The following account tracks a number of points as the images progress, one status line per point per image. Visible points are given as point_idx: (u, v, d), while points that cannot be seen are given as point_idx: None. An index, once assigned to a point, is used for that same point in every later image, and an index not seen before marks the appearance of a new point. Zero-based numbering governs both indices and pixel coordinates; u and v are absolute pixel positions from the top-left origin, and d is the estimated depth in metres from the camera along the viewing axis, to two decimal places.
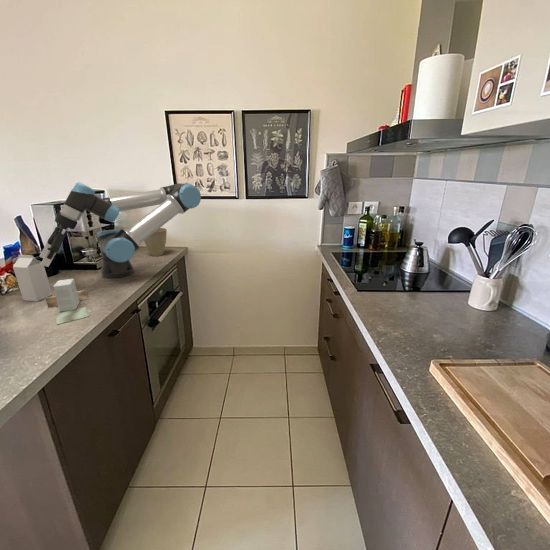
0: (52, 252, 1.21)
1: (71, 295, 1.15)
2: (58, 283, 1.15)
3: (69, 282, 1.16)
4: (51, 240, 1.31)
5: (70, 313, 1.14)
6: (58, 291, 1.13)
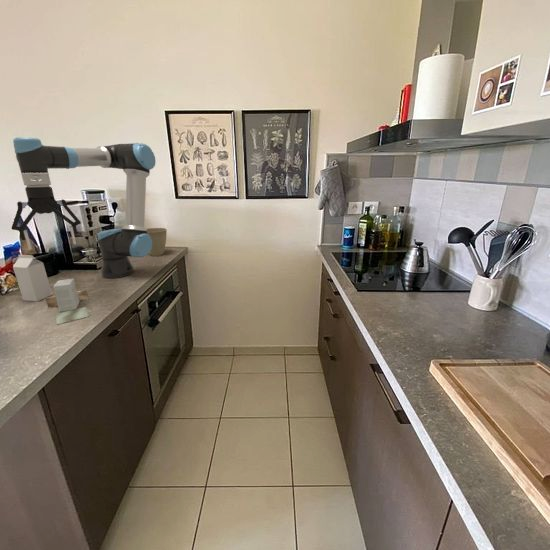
0: None
1: (71, 295, 1.15)
2: (58, 283, 1.15)
3: (69, 282, 1.16)
4: None
5: (70, 313, 1.14)
6: (58, 291, 1.13)
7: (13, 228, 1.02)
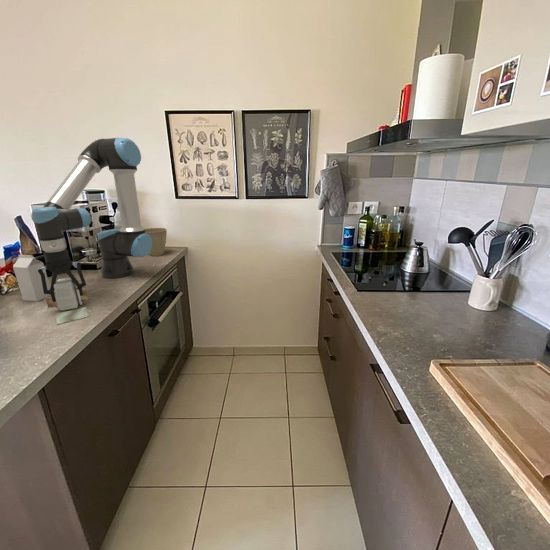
0: (81, 288, 1.20)
1: (71, 294, 1.15)
2: (58, 282, 1.15)
3: (69, 281, 1.16)
4: None
5: (70, 313, 1.14)
6: (58, 290, 1.13)
7: (45, 293, 1.12)
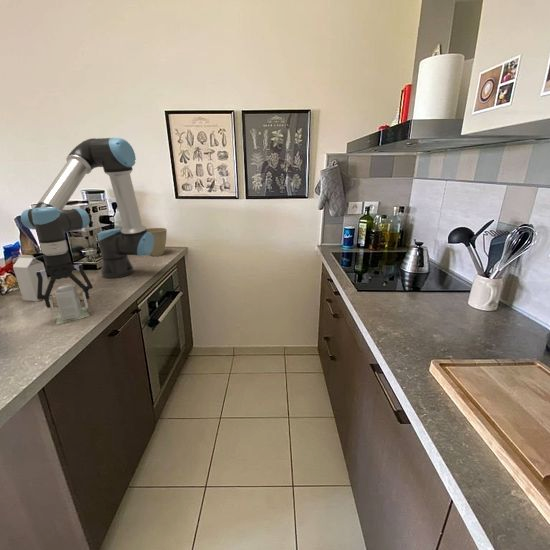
0: (87, 290, 1.14)
1: (74, 303, 1.08)
2: (60, 290, 1.08)
3: (71, 289, 1.09)
4: (50, 291, 1.06)
5: None
6: (60, 298, 1.06)
7: (39, 298, 1.04)
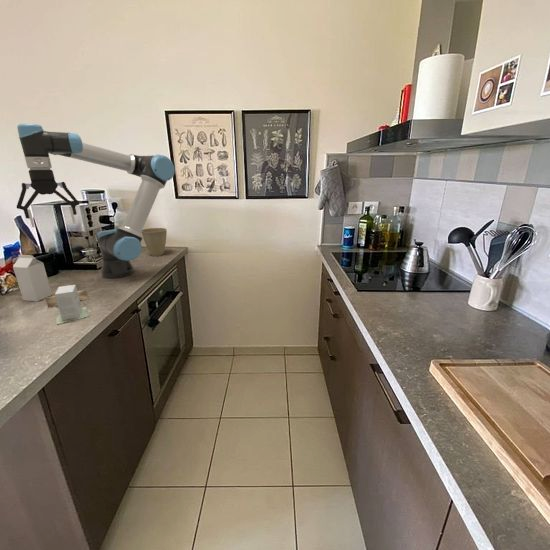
0: None
1: (74, 303, 1.08)
2: (60, 290, 1.08)
3: (71, 289, 1.09)
4: (30, 204, 1.15)
5: None
6: (60, 298, 1.06)
7: (18, 207, 1.13)
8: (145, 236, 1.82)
